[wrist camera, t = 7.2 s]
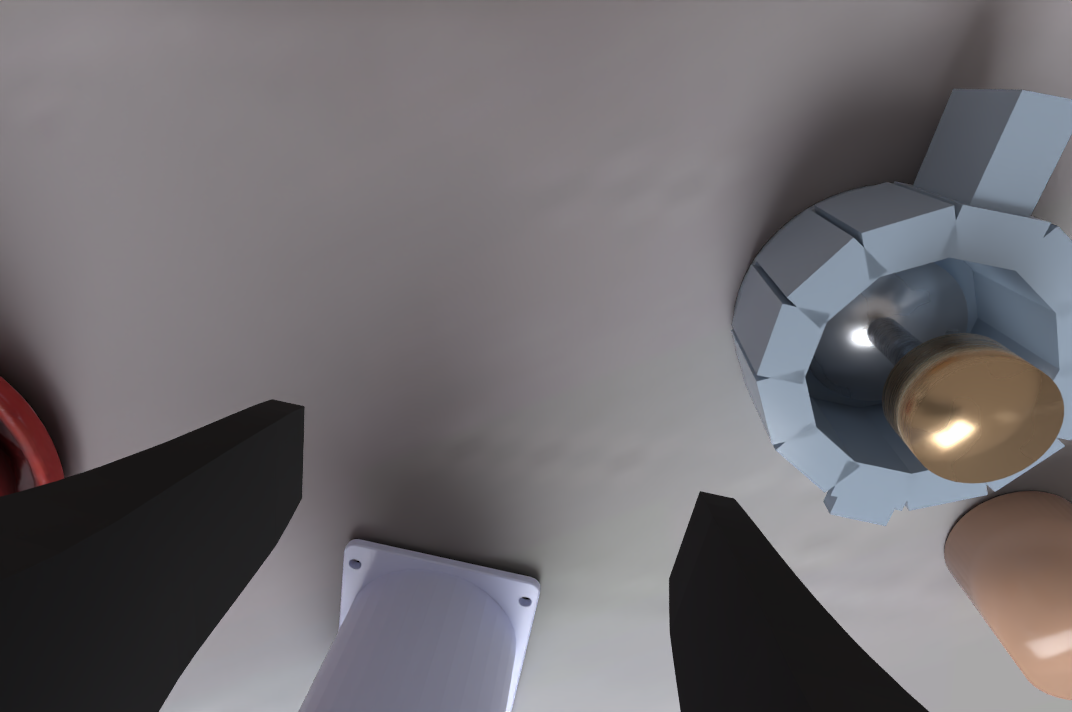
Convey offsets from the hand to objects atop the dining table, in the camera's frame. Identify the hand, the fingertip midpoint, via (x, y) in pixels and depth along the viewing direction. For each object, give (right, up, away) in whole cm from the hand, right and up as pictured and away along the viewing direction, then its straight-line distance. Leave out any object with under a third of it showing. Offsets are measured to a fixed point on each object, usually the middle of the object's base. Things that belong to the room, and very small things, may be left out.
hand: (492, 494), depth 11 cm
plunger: (+11, +3, +8) cm, 14 cm away
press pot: (+11, +4, +8) cm, 15 cm away
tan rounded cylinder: (+18, -4, +11) cm, 21 cm away
